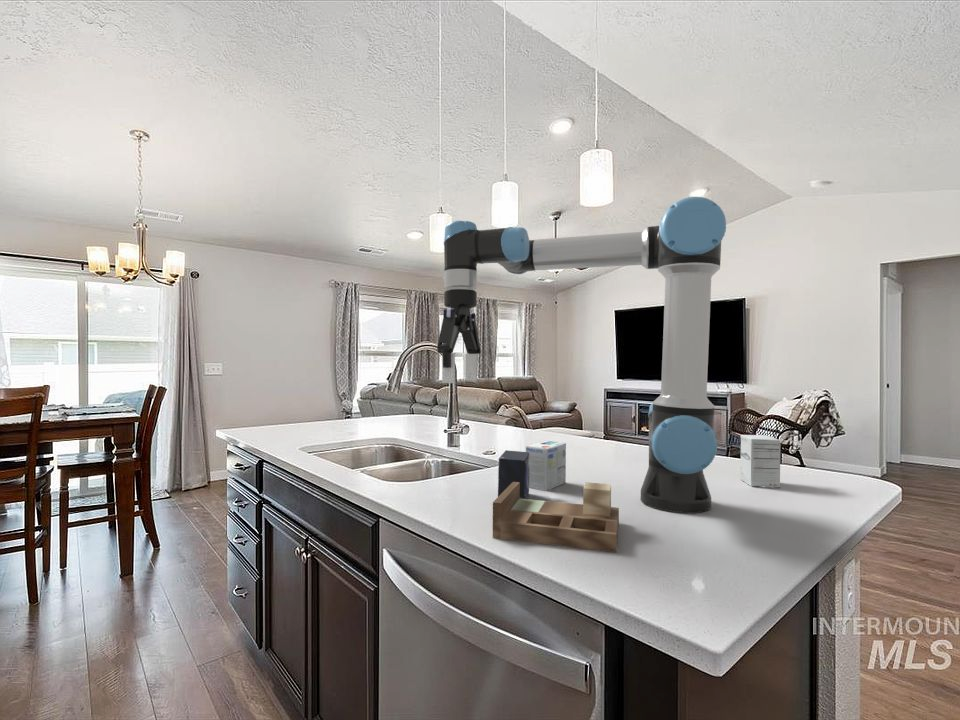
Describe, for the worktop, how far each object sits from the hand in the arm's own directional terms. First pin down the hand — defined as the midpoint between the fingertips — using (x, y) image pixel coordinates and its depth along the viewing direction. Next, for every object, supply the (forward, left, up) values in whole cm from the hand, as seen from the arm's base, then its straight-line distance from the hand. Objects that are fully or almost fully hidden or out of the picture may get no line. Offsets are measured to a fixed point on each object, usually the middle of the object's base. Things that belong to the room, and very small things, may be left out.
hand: (460, 381), depth 114 cm
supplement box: (-71, -39, -28) cm, 86 cm away
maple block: (-32, +9, -25) cm, 41 cm away
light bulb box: (-17, -20, -28) cm, 38 cm away
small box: (-12, -5, -28) cm, 31 cm away
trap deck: (-25, +13, -28) cm, 39 cm away
